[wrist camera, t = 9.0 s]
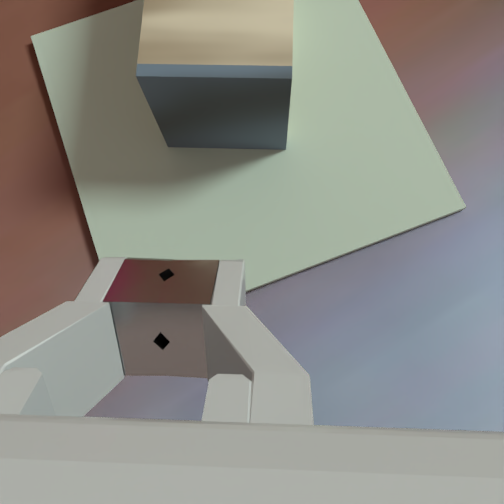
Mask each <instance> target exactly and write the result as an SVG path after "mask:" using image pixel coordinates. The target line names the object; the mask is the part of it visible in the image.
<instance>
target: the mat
mask: <svg viewBox="0 0 504 504" xmlns="http://www.w3.org/2000/svg"><path fill="white" fill-rule="evenodd" d="M143 6H144V0H136V1H133V2H130V3H127V4H124V5H122V6H119V7H116V8H113V9H110V10H107V11H104V12H101V13H98V14H95V15H92V16H89V17H86V18H83V19H80V20H77V21H74V22H71V23H68V24H65V25H63V26H60V27H57V28H54V29H51V30H48V31H45V32H42V33H39V34H36V35H33V36H31V38H32V42H33V45H34V48H35V52H36V55H37V58H38V61H39V65H40V68H41V71H42V75H43V78H44V81H45V84H46V88H47V91H48V94H49V98H50V101H51V104H52V107H53V111H54V114H55V117H56V121H57V124H58V127H59V130H60V134H61V137H62V140H63V143H64V147H65V150H66V153H67V157H68V160H69V163H70V166H71V170H72V173H73V176H74V180H75V183H76V186H77V189H78V193H79V196H80V199H81V203H82V206H83V209H84V212H85V216H86V219H87V222H88V226H89V229H90V232H91V235H92V239H93V242H94V245H95V249H96V252H97V255H98V258H99V260H100V259H101V258H103V257H126V258H128V257H131V258H155V259H174V260H237V259H244V261H245V273H246V292H248V291H251V290H254V289H256V288H259V287H262V286H264V285H267V284H269V283H272V282H275V281H277V280H280V279H283V278H285V277H288V276H291V275H293V274H296V273H298V272H301V271H304V270H306V269H309V268H312V267H314V266H317V265H319V264H322V263H325V262H327V261H330V260H333V259H335V258H338V257H341V256H343V255H346V254H348V253H351V252H354V251H356V250H359V249H362V248H364V247H367V246H369V245H372V244H375V243H377V242H380V241H383V240H385V239H388V238H390V237H393V236H396V235H398V234H401V233H404V232H406V231H409V230H412V229H414V228H417V227H419V226H422V225H425V224H427V223H430V222H433V221H435V220H438V219H440V218H443V217H446V216H448V215H451V214H454V213H456V212H459V211H462V210H463V209H465V208H466V206H465V204H464V202H463V200H462V198H461V196H460V194H459V192H458V190H457V188H456V187H455V185H454V183H453V181H452V179H451V177H450V175H449V173H448V171H447V169H446V167H445V165H444V164H443V162H442V160H441V158H440V156H439V154H438V152H437V150H436V148H435V146H434V144H433V142H432V141H431V139H430V137H429V135H428V133H427V131H426V129H425V127H424V125H423V123H422V121H421V119H420V118H419V116H418V114H417V112H416V110H415V108H414V106H413V104H412V102H411V100H410V98H409V96H408V94H407V93H406V91H405V89H404V87H403V85H402V83H401V81H400V79H399V77H398V75H397V73H396V71H395V70H394V68H393V66H392V64H391V62H390V60H389V58H388V56H387V54H386V52H385V50H384V48H383V47H382V45H381V43H380V41H379V39H378V37H377V35H376V33H375V31H374V29H373V27H372V25H371V24H370V22H369V20H368V18H367V16H366V14H365V12H364V10H363V8H362V6H361V4H360V2H359V0H294V15H293V61H292V86H291V97H290V109H289V121H288V132H287V144H286V150H274V149H228V148H182V147H168V146H167V144H166V142H165V139H164V137H163V135H162V133H161V131H160V128H159V126H158V124H157V122H156V120H155V117H154V115H153V113H152V111H151V109H150V106H149V104H148V102H147V100H146V98H145V95H144V93H143V91H142V89H141V87H140V84H139V82H138V80H137V78H136V69H137V60H138V51H139V42H140V33H141V24H142V15H143Z"/></svg>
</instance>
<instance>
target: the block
mask: <svg viewBox="0 0 504 504" xmlns="http://www.w3.org/2000/svg"><path fill="white" fill-rule="evenodd" d="M293 15H294V0H144V6H143V15H142V24H141V33H140V42H139V51H138V60H137V69H136V78H137V80H138V82H139V84H140V87H141V89H142V91H143V93H144V95H145V98H146V100H147V102H148V104H149V106H150V109H151V111H152V113H153V115H154V117H155V120H156V122H157V124H158V126H159V128H160V131H161V133H162V135H163V137H164V139H165V142H166V144H167V146H168V147H182V148H228V149H274V150H286V144H287V132H288V121H289V109H290V97H291V86H292V61H293Z"/></svg>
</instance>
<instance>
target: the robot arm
mask: <svg viewBox="0 0 504 504" xmlns="http://www.w3.org/2000/svg"><path fill="white" fill-rule="evenodd" d="M124 375H129V376H166V375H167V376H180V377H197V378H208V381H209V384H208V389H207V395H206V400H205V405H204V411H203V416H202V421H190V420H163V419H135V418H106V417H83V416H84V415H85V414H86V413H87V412H88V411H90V410H91V409H92V408H93V407H94V406H95V405H96V404H97V403H98V402H99V401H100V400H101V399H102V398H103V397H104V396H106V395H107V394H108V393H109V392H110V391H111V390H112V389H113V388H114V387H115V386H116V385H117V384H118V383H119V382H120V381H121V380H123V379H124ZM0 504H504V432H494V431H467V430H439V429H412V428H379V427H352V426H325V425H314V423H313V411H312V398H311V386H310V375H309V374H308V373H307V372H306V371H305V370H304V369H303V367H302V366H301V365H300V364H299V363H298V362H297V361H296V360H295V359H294V358H293V357H292V355H291V354H290V353H289V352H288V351H287V350H286V349H285V348H284V347H283V346H282V344H281V343H280V342H279V341H278V340H277V339H276V338H275V337H274V336H273V335H272V333H271V332H270V331H269V330H268V329H267V328H266V327H265V326H264V325H263V324H262V323H261V321H260V320H259V319H258V318H257V317H256V316H255V315H254V314H253V313H252V312H251V310H250V309H249V308H248V307H247V306H246V273H245V261H244V259H237V260H174V259H155V258H131V257H128V258H126V257H103V258H101V259H100V260H99V262H98V263H97V265H96V267H95V268H94V270H93V272H92V273H91V275H90V276H89V278H88V280H87V281H86V283H85V284H84V286H83V288H82V289H81V291H80V293H79V294H78V296H77V297H76V299H75V301H66V302H65V303H63V304H61V305H59V306H57V307H55V308H53V309H52V310H50V311H48V312H46V313H44V314H42V315H41V316H39V317H37V318H35V319H33V320H31V321H29V322H28V323H26V324H24V325H22V326H20V327H18V328H16V329H15V330H13V331H11V332H9V333H7V334H5V335H3V336H2V337H0Z"/></svg>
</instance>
